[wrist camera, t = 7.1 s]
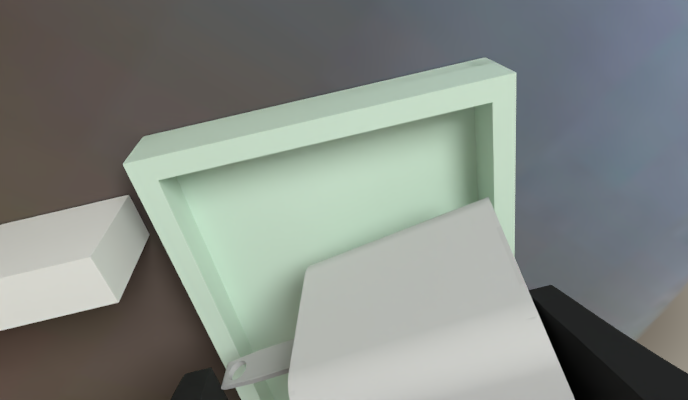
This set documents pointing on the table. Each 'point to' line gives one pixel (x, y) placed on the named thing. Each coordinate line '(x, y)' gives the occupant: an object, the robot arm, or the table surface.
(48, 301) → the bay
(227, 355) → the tray
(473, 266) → the usb wall charger
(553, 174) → the table surface
